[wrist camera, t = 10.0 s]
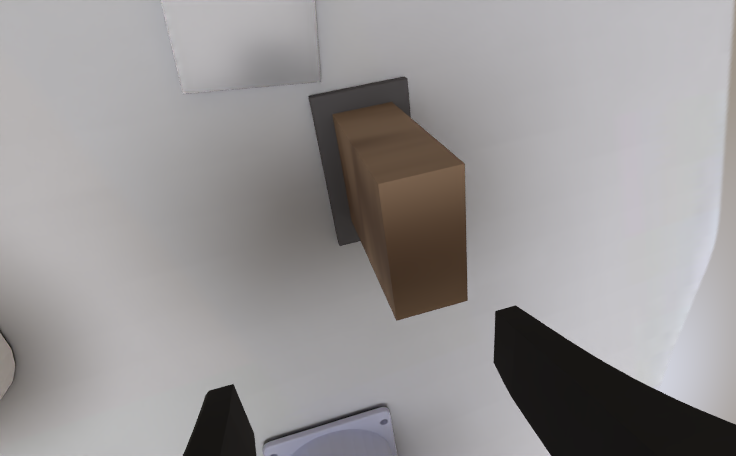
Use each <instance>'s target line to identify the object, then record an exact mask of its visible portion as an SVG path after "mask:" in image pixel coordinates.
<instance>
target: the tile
mask: <svg viewBox="0 0 736 456" xmlns="http://www.w3.org/2000/svg"><path fill="white" fill-rule="evenodd" d="M160 1H161V5H162V9H163V13H164V17H165V22H166V26H167V30H168V34H169V38H170V43H171V47H172V51H173V55H174V59H175V64H176V68H177V72H178V76H179V80H180V85H181V89H182V93H183V94H189V93H200V92H212V91H223V90H234V89H246V88H257V87H269V86H280V85H291V84H303V83H314V82H321V73H320V61H319V48H318V36H317V24H316V11H315V0H160Z"/></svg>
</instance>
